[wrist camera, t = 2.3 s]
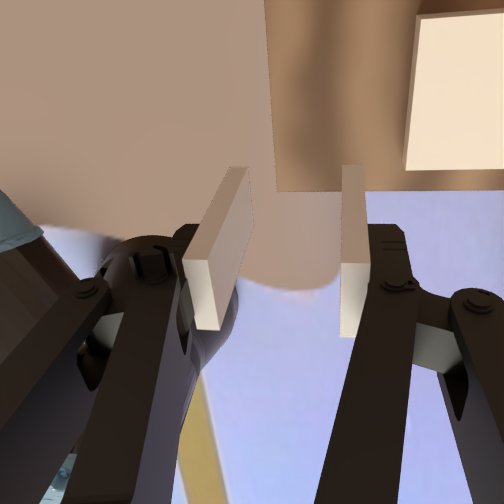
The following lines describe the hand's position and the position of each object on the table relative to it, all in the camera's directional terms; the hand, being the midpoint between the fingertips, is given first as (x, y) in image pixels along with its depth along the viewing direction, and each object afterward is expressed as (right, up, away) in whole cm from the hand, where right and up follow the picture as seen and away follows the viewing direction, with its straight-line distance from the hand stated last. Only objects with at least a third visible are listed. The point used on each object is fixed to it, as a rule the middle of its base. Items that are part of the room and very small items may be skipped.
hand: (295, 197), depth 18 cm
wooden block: (+10, +10, +14) cm, 20 cm away
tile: (+11, +8, +10) cm, 17 cm away
